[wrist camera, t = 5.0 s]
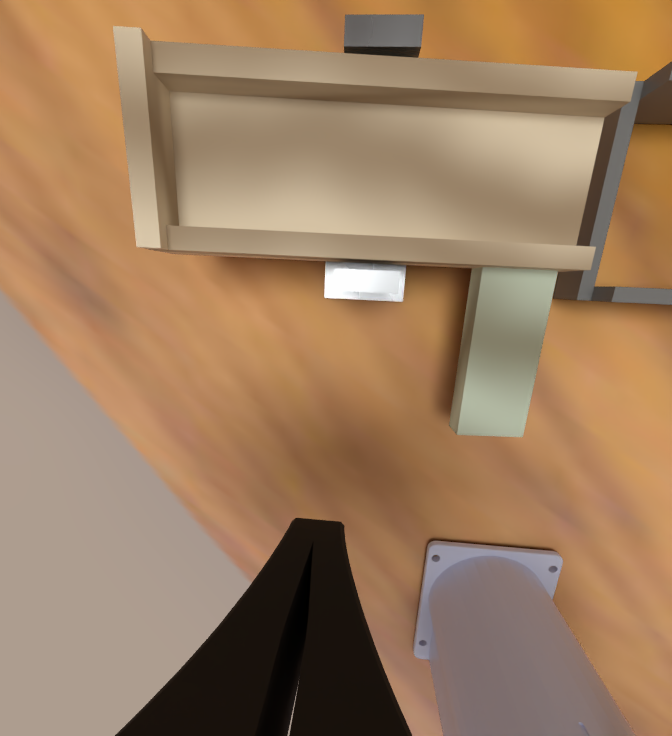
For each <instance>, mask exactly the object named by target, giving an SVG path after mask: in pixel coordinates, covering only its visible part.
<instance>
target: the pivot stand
mask: <svg viewBox="0 0 672 736" xmlns="http://www.w3.org/2000/svg"><path fill="white" fill-rule="evenodd" d="M423 19H424V15H345V35H344V53H350V54H366V55H381V56H397V57H413V58H418V56H419V52H420V49H421V41H422V30H423ZM405 273H406V265H392V264H371V263H350V262H329V261H326V266H325V295H324V298H338V299H359V300H379V301H400V302H403V294H404V284H405Z"/></svg>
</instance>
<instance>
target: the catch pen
mask: <svg viewBox="0 0 672 736" xmlns="http://www.w3.org/2000/svg"><path fill="white" fill-rule="evenodd" d="M634 124H672V62H670V63H669V64H667V65H666V66H665V67H663V68H662V69H661V70H659V71H658V72H656V73H655V74H654V75H652V76H651V77H649V78H648V79H647V80H645V81H635V85H634V89H633V93H632V97H631V102H629V103H628V104H626V105H624V106H623V107H621V108H619V109H618V110H616V111H615V112H613V113H611V114H610V115H608V116H606V117H605V118H604V123H603V127H602V132H601V136H600V141H599V145H598V150H597V154H596V159H595V163H594V168H593V172H592V177H591V181H590V186H589V190H588V195H587V199H586V204H585V208H584V213H583V217H582V222H581V226H580V231H579V235H578V240H577V244H576V246H591V247H596V249H595V253H594V258H593V262H592V266H591V270H584V271H566V272H559V273H558V278H557V282H556V287H555V292H554V296H553V298H554V299H570V300H589V301H606V302H625V303H647V304H668V305H672V289H654V288H632V287H594V286H595V281H596V277H597V273H598V269H599V265H600V261H601V257H602V253H603V249H604V244H605V240H606V236H607V232H608V228H609V224H610V220H611V216H612V212H613V207H614V203H615V199H616V195H617V191H618V187H619V183H620V179H621V175H622V170H623V166H624V162H625V158H626V154H627V150H628V146H629V142H630V137H631V133H632V129H633V125H634Z"/></svg>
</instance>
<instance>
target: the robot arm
mask: <svg viewBox="0 0 672 736" xmlns="http://www.w3.org/2000/svg"><path fill="white" fill-rule="evenodd" d="M434 555H438V556H436V557H433V556H434ZM562 564H563V559H562V557H561V556H560V555H559V553H557V552H555V551H547V550H535V549H524V548H513V547H502V546H491V545H479V544H468V543H457V542H446V541H432V542H430V543H429V544H428V546H427V553H426V560H425V567H424V574H423V581H422V588H421V595H420V602H419V609H418V616H417V623H416V630H415V637H414V644H413V651H414V655H415V657H417V658H419V659H427V660H429V662H430V667H431V673H432V678H433V683H434V689H435V694H436V699H437V704H438V710H439V715H440V720H441V726H442V731H443V736H636V735H635V733H634V731H633V730H632V728H631V727H630V725H629V723H628V722H627V720H626V718H625V717H624V715H623V714H622V712H621V710H620V709H619V707H618V705H617V704H616V702H615V701H614V699H613V697H612V696H611V694H610V693H609V691H608V689H607V688H606V686H605V684H604V683H603V681H602V680H601V678H600V676H599V675H598V673H597V672H596V670H595V668H594V667H593V665H592V663H591V662H590V660H589V659H588V657H587V655H586V654H585V652H584V650H583V649H582V647H581V646H580V644H579V642H578V641H577V639H576V638H575V636H574V634H573V633H572V631H571V629H570V628H569V626H568V625H567V623H566V621H565V620H564V618H563V616H562V615H561V613H560V612H559V610H558V608H557V607H556V605H555V604H554V602H553V596H554V593H555V589H556V586H557V582H558V578H559V575H560V571H561V568H562ZM299 677H300V678H299ZM298 682H299V684H298ZM297 687H298V690H297ZM296 692H297V696H296ZM295 696H296V701H295ZM294 701H295V707H294V713H293V719H292V724H291V730H290V735H289V736H412V734H411V732H410V729H409V727H408V725H407V723H406V720H405V718H404V716H403V713H402V711H401V709H400V707H399V704H398V702H397V700H396V697H395V695H394V693H393V690H392V688H391V685H390V683H389V681H388V678H387V676H386V673H385V671H384V668H383V666H382V663H381V661H380V658H379V655H378V653H377V650H376V647H375V645H374V642H373V639H372V636H371V633H370V630H369V628H368V625H367V622H366V619H365V616H364V613H363V610H362V607H361V604H360V600H359V597H358V593H357V590H356V586H355V583H354V579H353V576H352V572H351V568H350V563H349V559H348V554H347V549H346V542H345V533H344V525H343V524H342V523H341V522H337V521H326V520H314V519H303V518H296V519H294V520H293V521H292V522H291V524H290V526H289V528H288V530H287V531H286V533H285V535H284V537H283V538H282V540H281V541H280V543H279V545H278V546H277V548H276V549H275V551H274V552H273V554H272V555H271V557H270V558H269V560H268V561H267V563H266V564H265V565H264V567H263V568H262V570H261V571H260V572H259V574H258V575H257V577H256V578H255V580H254V581H253V582H252V584H251V585H250V586H249V588H248V589H247V591H246V592H245V593H244V594H243V596H242V597H241V598H240V599H239V601H238V602H237V603H236V604H235V606H234V607H233V608H232V610H231V611H230V612H229V613H228V615H227V616H226V617H225V618H224V620H223V621H222V622H221V623H220V625H219V626H218V627H217V628H216V629H215V631H214V632H213V633H212V634H211V635H210V636H209V638H208V639H207V640H206V641H205V642H204V643H203V644H202V646H201V647H200V648H199V649H198V650H197V651H196V652H195V653H194V654H193V656H192V657H191V658H190V659H189V660H188V661H187V662H186V663H185V665H184V666H183V667H182V668H181V669H180V670H179V671H178V672H177V673H176V674H175V675H174V676H173V677H172V678H171V679H170V680H169V681H168V683H167V684H166V685H165V686H164V687H163V688H162V689H161V690H160V691H159V692H158V693H157V694H156V695H155V696H154V697H153V698H152V699H151V700H150V701H149V702H148V703H147V704H146V705H145V707H143V709H141V710H140V711H139V713H137V714H136V715H135V717H134V718H132V719H131V720H130V721H129V722H128V723H127V724H126V725H125V727H123V728H122V729H121V730H120V731H119V732H118V733H117V734H116V735H115V736H287V734H288V730H289V725H290V720H291V715H292V710H293V706H294Z"/></svg>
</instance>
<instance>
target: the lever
mask: <svg viewBox="0 0 672 736" xmlns="http://www.w3.org/2000/svg"><path fill="white" fill-rule="evenodd" d="M113 32H114V41H115V50H116V60H117V69H118V78H119V87H120V97H121V106H122V115H123V125H124V134H125V143H126V152H127V162H128V171H129V180H130V190H131V199H132V208H133V218H134V227H135V236H136V245H137V247H139V248H145V249H150V250H155V251H160V252H165V253H170V254H183V255H204V256H225V257H246V258H267V259H288V260H308V261H329V262H350V263H371V264H392V265H413V266H433V267H454V268H472V271H471V278H470V285H469V292H468V299H467V306H466V312H465V319H464V326H463V333H462V340H461V347H460V353H459V360H458V367H457V374H456V381H455V388H454V394H453V401H452V408H451V415H450V422H449V426H450V427H451V428H452V429H453V431H454V432H455V433H456V434H457V435H476V436H505V437H523V433H524V429H525V424H526V419H527V415H528V410H529V405H530V400H531V396H532V391H533V386H534V382H535V377H536V372H537V367H538V363H539V358H540V353H541V349H542V344H543V339H544V335H545V330H546V325H547V320H548V316H549V311H550V306H551V302H552V297H553V292H554V287H555V283H556V278H557V273H558V272H566V271H584V270H591V266H592V262H593V258H594V253H595V249H596V247H591V246H576V244H577V240H578V235H579V231H580V226H581V222H582V217H583V213H584V208H585V204H586V199H587V195H588V190H589V186H590V181H591V177H592V172H593V168H594V163H595V159H596V154H597V150H598V145H599V141H600V136H601V132H602V127H603V123H604V118H605V117H606V116H608V115H610V114H611V113H613V112H615V111H616V110H618V109H619V108H621V107H623V106H624V105H626V104H628V103H629V102H631V97H632V93H633V89H634V85H635V81H636V76H637V72H632V71H616V70H601V69H585V68H569V67H554V66H538V65H522V64H507V63H491V62H475V61H460V60H444V59H428V58H413V57H397V56H381V55H366V54H350V53H334V52H319V51H303V50H287V49H272V48H256V47H240V46H225V45H209V44H194V43H178V42H162V41H150V39H149V38H148V37H147V35H146V34H145V33H144V31H143V30H142V29H141V28H135V27H120V26H113Z"/></svg>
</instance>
